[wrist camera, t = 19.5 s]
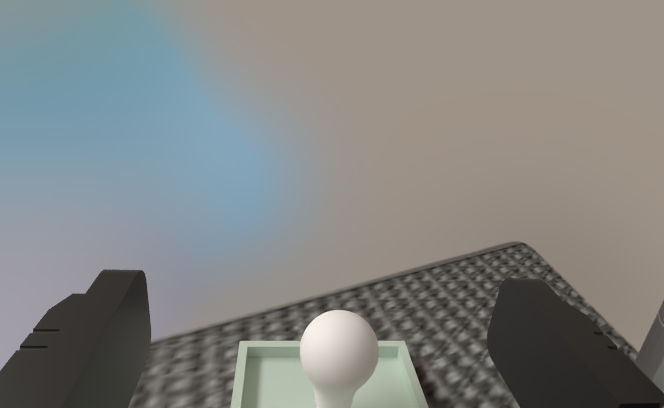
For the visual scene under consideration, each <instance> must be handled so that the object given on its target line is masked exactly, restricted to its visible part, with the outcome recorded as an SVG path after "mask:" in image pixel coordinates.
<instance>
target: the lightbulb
mask: <svg viewBox="0 0 664 408" xmlns="http://www.w3.org/2000/svg"><path fill="white" fill-rule="evenodd" d="M378 356H379V348H378V342H377V338H376V335H375V333H374V331H373V330H372V328H371V327H370V325H369V324H368V323H367V322H366V321H365V320H364V319H363V318H362V317H360V316H359V315H357V314H355V313H352V312H349V311H344V310H333V311H328V312H326V313H323V314H322V315H320V316H318V317H317V318H315V319H314V320H313V321H312V322H311V323H310V324H309V325H308V327H307V328H306V330H305V332H304V334H303V337H302V340H301V343H300V358H301V363H302V367H303V369H304V371H305V373H306V374H307V376H308V378H309V380H310V381H311V382H312V384H313V386H314V390H315V402H316V404H317V408H350V407H351V405H352V402H353V397H354V395H355V393H356V391H357V390H358V389H359V388H360V387H362V386H363V385H364V384H365V383H366V382H367V381H368V380H369V378H370V377H371V376H372V374H373V372H374V370H375V368H376V366H377V363H378Z"/></svg>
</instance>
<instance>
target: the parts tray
mask: <svg viewBox="0 0 664 408" xmlns="http://www.w3.org/2000/svg"><path fill="white" fill-rule="evenodd" d="M377 342H378V348H379V356H378V363H377V366H376V368H375V370H374V372H373V374H372V376H371V377H370V378H369V380H368V381H367V382H366V383H365V384H364V385H363V386H362V387H360V388H359V389H358V390H357V391H356V393H355V395H354V397H353V402H352V405H351V407H350V408H428V405H427V402H426V399H425V397H424V394H423V391H422V388H421V386H420V383H419V380H418V377H417V375H416V372H415V369H414V366H413V364H412V361H411V358H410V355H409V353H408V350H407V347H406V344H405V342H404V341H377ZM300 343H301V341H240V344H239V351H238V358H237V366H236V373H235V380H234V388H233V395H232V402H231V408H317V404H316V402H315V390H314V386H313V384H312V382H311V381H310V380H309V378H308V376H307V374H306V373H305V371H304V369H303V367H302V363H301V358H300Z"/></svg>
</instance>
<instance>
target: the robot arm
mask: <svg viewBox="0 0 664 408" xmlns="http://www.w3.org/2000/svg"><path fill="white" fill-rule="evenodd" d="M150 343H151V324H150V314H149V303H148V293H147V283H146V277H145V273H144V272H143V271H142V270H103V271H102V272H101V273H100V274H99V275H98V277H97V278H96V280H95V281H94V282H93V284H92V285H91V287H90V288H89V289H88V291H87V292H86V294H72V295H70V296H69V297H67V298H66V299H64V300H63V301H61V302H60V303H58V304H57V305H55V306H54V307H52V308H51V309H49V310H48V311H47V313H46V314H45V315H44V317H43V318H42V319H41V320H40V322H39V323H38V324H37V325H36V327H35V328H34V329H33V333H30V334H29V335H28V337H27V338H26V339H25V341H24V342H23V343H22V344H21V345H20V350H19V351H18V350H17V351H16V352H15V353H14V354H13V356H12V357H11V358H10V359H9V361H8V362H7V363H6V364H5V366H4V367H3V368H2V369H1V371H0V408H128V406H129V403H130V401H131V398H132V396H133V393H134V391H135V388H136V386H137V383H138V381H139V378H140V376H141V373H142V371H143V368H144V366H145V363H146V360H147V357H148V354H149V349H150ZM487 345H488V351H489V354H490V357H491V359H492V361H493V362H494V364H495V366H496V367H497V369H498V371H499V372H500V374H501V376H502V377H503V379H504V381H505V382H506V384H507V386H508V388H509V389H510V391H511V393H512V394H513V396H514V398H515V399H516V401H517V403H518V404H519V406H520V408H664V300H663V302H662V304H661V307H660V309H659V311H658V313H657V315H656V318H655V320H654V322H653V324H652V326H651V328H650V330H649V332H648V334H647V337H646V339H645V341H644V343H643V345H642V347H641V350H640V351H639V354H638V356H637V358H636V360H635V362H634V363H633V362H632V361H631V360H630V359H629V358H628V357H627V356H626V355H625V354H624V353H623V352H622V351H621V350H618V349H617V346H616V345H615V344H614V343H613V342H612V341H611V340H610V339H609V338H608V337H607V336H606V335H603V332H602V331H601V330H600V329H599V328H598V327H597V326H596V325H595V324H594V323H593V322H592V321H591V320H590V318H589V317H588V316H587V315H585V314H584V313H582V312H580V311H579V310H577V309H576V308H574V307H573V306H571V305H569V304H568V303H566V302H565V301H562V299H561V298H560V297H559V296H558V295H557V294H556V293H555V292H554V291H553V290H552V289H551V288H550V287H549V286H548V285H547V284H546V283H545V282H544V281H543V280H541V279H524V278H507V279H505V280H504V281H503V282H502V284H501V287H500V290H499V293H498V297H497V300H496V304H495V307H494V311H493V314H492V318H491V321H490V325H489V328H488V333H487Z"/></svg>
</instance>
